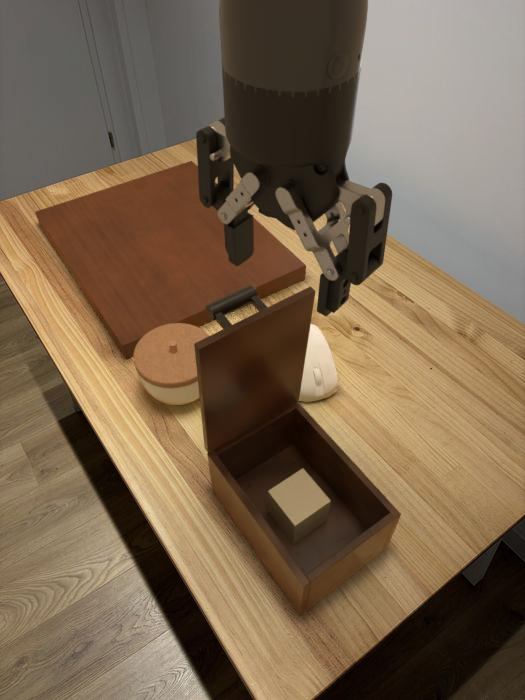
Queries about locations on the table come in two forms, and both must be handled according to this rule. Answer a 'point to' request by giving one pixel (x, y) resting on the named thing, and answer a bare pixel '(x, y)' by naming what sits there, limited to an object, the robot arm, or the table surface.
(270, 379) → the lid
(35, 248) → the table surface
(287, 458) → the chest
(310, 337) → the computer mouse
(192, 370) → the trinket box
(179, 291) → the brown flat wooden slab
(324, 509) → the block
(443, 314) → the table surface
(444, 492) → the table surface
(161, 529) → the table surface
